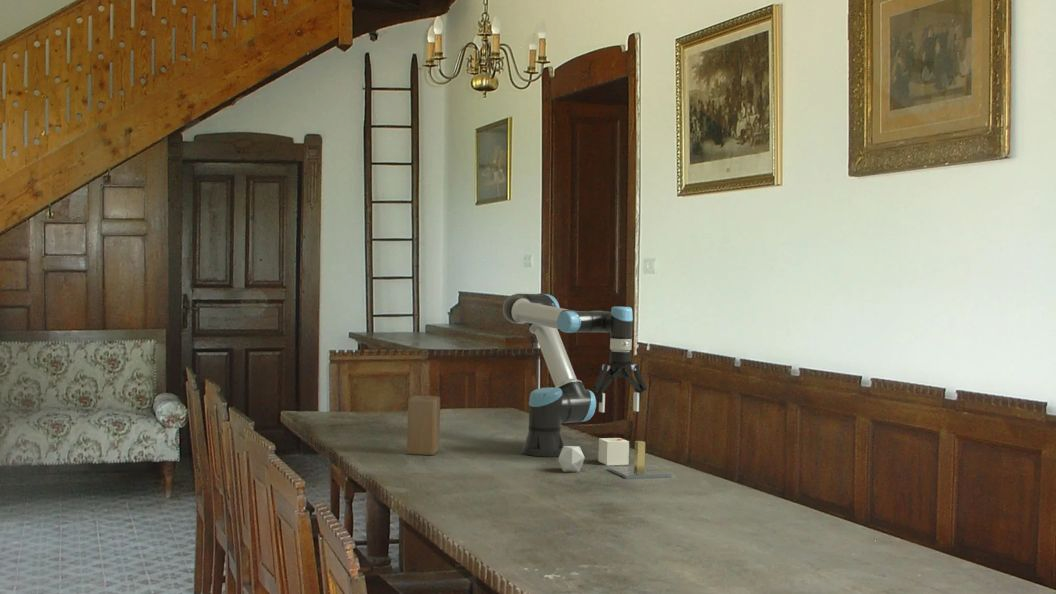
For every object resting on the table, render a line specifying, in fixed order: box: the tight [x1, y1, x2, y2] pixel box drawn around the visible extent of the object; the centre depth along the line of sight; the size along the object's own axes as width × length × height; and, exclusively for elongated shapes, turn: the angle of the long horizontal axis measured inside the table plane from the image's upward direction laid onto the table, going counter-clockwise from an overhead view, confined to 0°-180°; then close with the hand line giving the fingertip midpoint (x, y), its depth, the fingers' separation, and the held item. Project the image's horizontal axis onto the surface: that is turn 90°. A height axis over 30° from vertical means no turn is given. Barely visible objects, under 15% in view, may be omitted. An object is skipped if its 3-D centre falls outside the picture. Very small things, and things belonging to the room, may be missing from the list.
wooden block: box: [406, 394, 441, 456], centre depth 390 cm, size 10×10×20 cm
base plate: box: [607, 440, 673, 480], centre depth 363 cm, size 16×16×10 cm
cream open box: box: [597, 437, 630, 466], centre depth 382 cm, size 8×8×8 cm
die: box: [557, 445, 585, 473], centre depth 364 cm, size 8×9×10 cm
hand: (618, 411), depth 385 cm, fingers open, 13 cm apart
